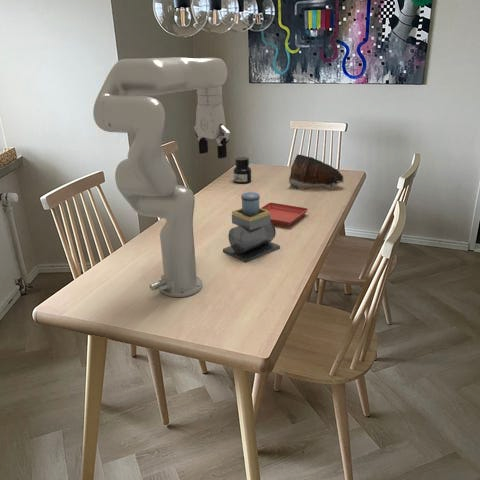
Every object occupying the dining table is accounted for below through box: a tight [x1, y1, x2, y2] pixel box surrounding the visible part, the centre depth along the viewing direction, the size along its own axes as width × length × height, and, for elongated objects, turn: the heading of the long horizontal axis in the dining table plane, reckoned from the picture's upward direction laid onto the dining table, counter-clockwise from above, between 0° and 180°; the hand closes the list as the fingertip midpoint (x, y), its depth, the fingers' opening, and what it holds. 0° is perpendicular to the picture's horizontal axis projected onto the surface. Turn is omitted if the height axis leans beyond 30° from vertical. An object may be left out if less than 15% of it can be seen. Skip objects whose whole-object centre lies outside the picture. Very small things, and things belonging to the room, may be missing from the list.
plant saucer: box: [261, 202, 309, 228], centre depth 192 cm, size 18×18×3 cm
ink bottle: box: [233, 156, 252, 185], centre depth 239 cm, size 10×9×12 cm
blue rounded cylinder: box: [240, 191, 261, 217], centre depth 158 cm, size 6×6×7 cm
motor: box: [222, 207, 281, 263], centre depth 162 cm, size 16×12×14 cm
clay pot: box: [288, 154, 345, 190], centre depth 227 cm, size 15×15×25 cm
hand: (212, 155), depth 153 cm, fingers open, 9 cm apart
